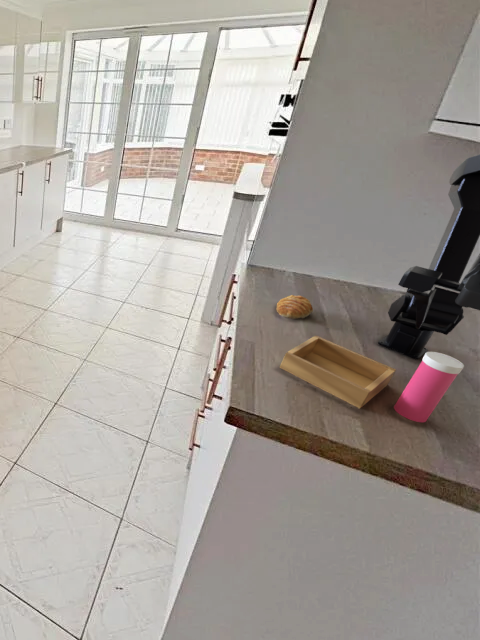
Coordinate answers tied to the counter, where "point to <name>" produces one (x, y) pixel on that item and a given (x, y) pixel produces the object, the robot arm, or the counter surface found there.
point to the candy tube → (427, 386)
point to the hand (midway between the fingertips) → (455, 340)
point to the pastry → (294, 307)
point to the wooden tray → (337, 370)
